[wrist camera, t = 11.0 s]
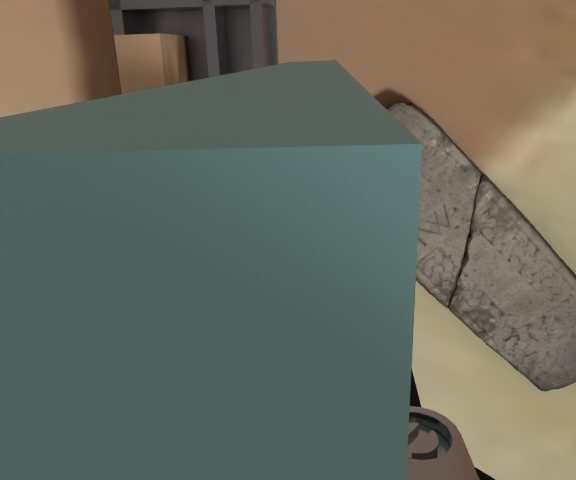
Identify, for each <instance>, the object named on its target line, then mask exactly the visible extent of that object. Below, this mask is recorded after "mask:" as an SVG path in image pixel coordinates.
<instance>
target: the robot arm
mask: <svg viewBox="0 0 576 480" xmlns="http://www.w3.org/2000/svg"><path fill="white" fill-rule="evenodd" d="M406 480H495V479H494V478H492V477H490V476H489V475H487V474H485V473H484V472H482V471H480V470H479V469H477V468H475V467H474V465H473V463H472V460H471V458H470V455H469V453H468V450H467V448H466V446H465V443H464V441H463V438H462V436H461V434H460V432H459V431H458V429H457V427H456V426H455V425H454V424H453V423H452V422H451V421H450V420H449V419H447V418H446V417H445V416H443V415H441V414H439V413H437V412H435V411H433V410H429V409H425V408H422V407H421V404H420V400H419V396H418V392H417V388H416V384H415V380H414V376H413V372H412V368H411V387H410V408H409V428H408V449H407V470H406Z"/></svg>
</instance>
